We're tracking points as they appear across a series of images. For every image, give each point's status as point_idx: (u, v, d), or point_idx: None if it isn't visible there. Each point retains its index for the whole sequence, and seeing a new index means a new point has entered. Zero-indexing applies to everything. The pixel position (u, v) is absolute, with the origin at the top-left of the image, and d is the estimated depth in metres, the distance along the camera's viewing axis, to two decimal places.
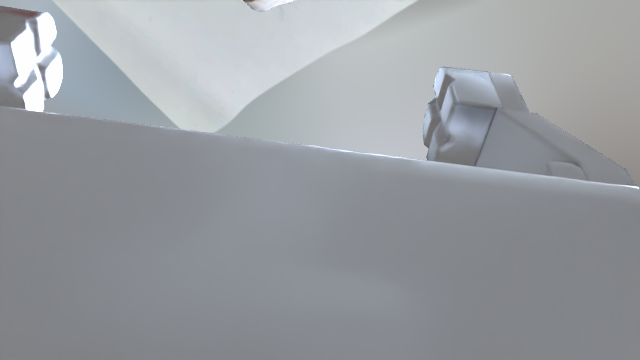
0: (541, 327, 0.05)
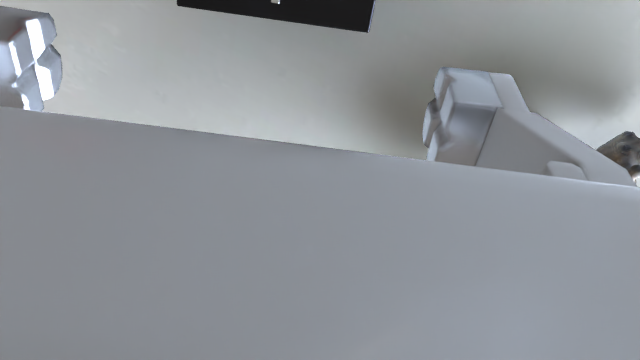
0: (541, 327, 0.05)
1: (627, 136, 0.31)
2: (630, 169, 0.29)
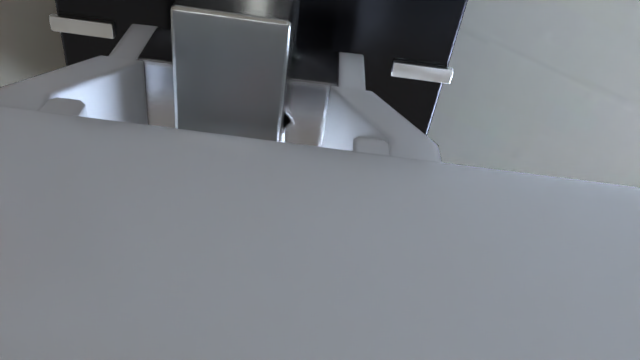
0: (541, 327, 0.05)
1: None
2: None
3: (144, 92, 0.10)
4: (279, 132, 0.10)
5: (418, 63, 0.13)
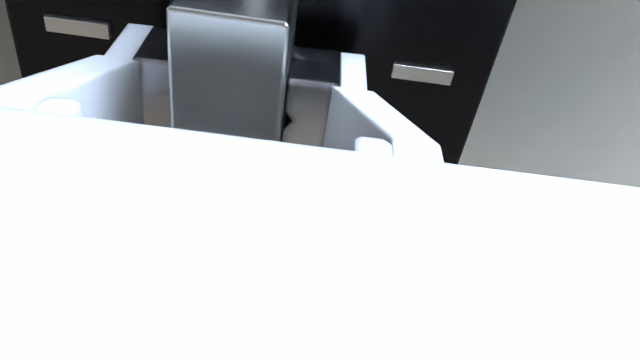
0: (541, 327, 0.05)
1: None
2: None
3: (141, 91, 0.10)
4: (277, 135, 0.09)
5: None
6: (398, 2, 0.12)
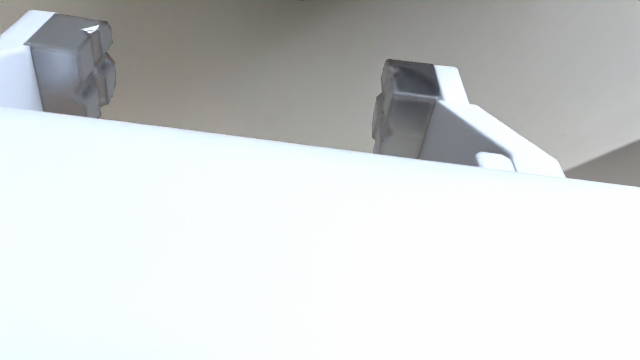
0: (542, 327, 0.05)
1: None
2: None
3: (35, 77, 0.10)
4: None
5: None
6: None
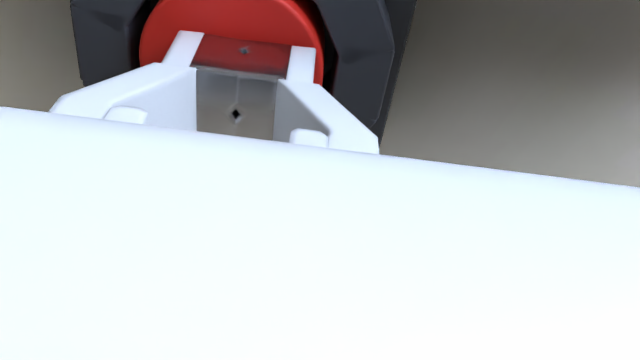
0: (541, 328, 0.05)
1: None
2: None
3: (195, 98, 0.10)
4: None
5: None
6: None
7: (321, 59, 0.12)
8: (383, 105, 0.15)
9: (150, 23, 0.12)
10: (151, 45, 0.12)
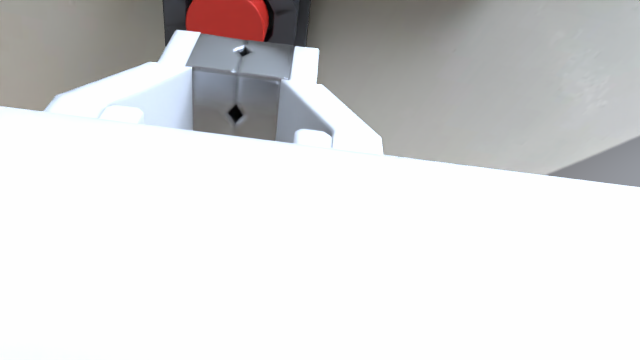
0: (542, 328, 0.05)
1: None
2: None
3: (192, 98, 0.10)
4: None
5: None
6: None
7: (263, 22, 0.28)
8: (302, 39, 0.32)
9: (190, 7, 0.27)
10: (191, 17, 0.28)
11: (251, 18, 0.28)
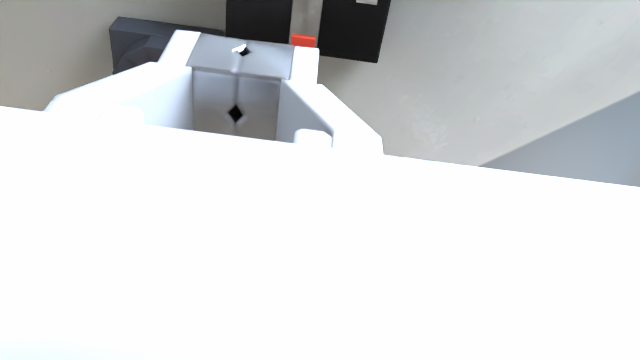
0: (541, 328, 0.05)
1: None
2: None
3: (192, 98, 0.10)
4: (321, 10, 0.34)
5: None
6: None
7: None
8: None
9: None
10: None
11: None
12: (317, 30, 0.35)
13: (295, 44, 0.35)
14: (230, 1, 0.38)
